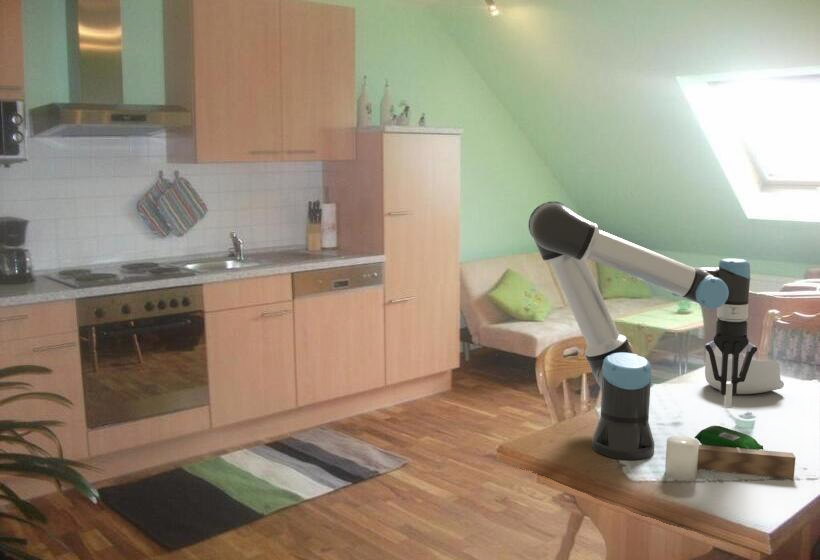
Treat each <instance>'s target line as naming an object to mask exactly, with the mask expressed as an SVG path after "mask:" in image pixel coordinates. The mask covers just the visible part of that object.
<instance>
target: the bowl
mask: <svg viewBox="0 0 820 560" xmlns="http://www.w3.org/2000/svg"><path fill="white" fill-rule="evenodd" d="M713 352H714V355H715V359H716V364H717V369H718V373H719V375H720V376H721V364H722V352H721V351H720V350H719V348H718V347H717V346H716V345H715V349H714V350H713ZM739 355H741V356H743V358H744V359H745V356H746V353H744V352H743V351H742V352H741V353H739ZM744 359H743V360H741V359H738V376H739V374H740V371H741V368H742V365H743V362H744ZM780 370H781V369H780V363H779V362H777V361H769V360H767V361H766V360H759V359H758V358H757V357H754V356H753V357H752V360H751V363H750V366H749V369H748V372H747V375H746V378H745V381H744V382H739V383H738V384H737V393H736V395H754V394H761V393H767V392H771V391H777V390H781V389H783V388H784V386H785V384H784V381H782V380H781V371H780ZM731 374H732V354H728V367H727V381H731ZM704 375H705V376H704V378H705V381H706V382H707V383H708V385H709V386H710V387H712V388H714V389H716V390H718V391H720V389H721V382H720V381H716V380H715V378H714V375H713V371H712V366H711V361H710V357H709V352H708V351H707V349H706V348H705V365H704Z"/></svg>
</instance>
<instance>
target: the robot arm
mask: <svg viewBox="0 0 820 560" xmlns="http://www.w3.org/2000/svg"><path fill="white" fill-rule="evenodd" d="M528 231H529V234H530V236H531V237H532V238H533V240H534V243H535V245H536V247H537V249H538V251H539V254H540V256H541V258H542V260H543V262H546V263H548V264H550V265H551V266H552V269H553V270H554V272H555V273H554V274H555V275H556V277H557V280H558V282H559V285H560V287H561V289H562V292H563V294H564V296H565V299H566V301H567V303H568V305H569V308H570V309H571V312H572V313H573V314H572V315H573V316H574V319H575V320H576V322H577V325H578V328H579V330H580V332H581V335H582V336H583V340H584V341H585V343H586V348H585V351H584V356H585V357H586V360H587V363H588V365H589V368H590V369H591V374H592V377H593V378H594V380H595V382H597V385H598V387H599V389H600V393H601V395H600V397H601V399H600V400H601V401H600V418H599V420H598V422H597V424H596V427H595V430H594V432H593V436H592V440H591V441H592V443H591V447H592V449H593V451H594V452H596V453H597V454H600V455H602V456H605V457H607V458H612V459H617V460H627V461H628V460H629V461H632V460H633V461H634V460H635V461H636V460H643V459H647V458H649V457H652V456H653V455H654V454H655V440H654V437H653V433H652V430H651V426H650V422H649V415H650V402H651V401H650V400H651V398H650V397H651V383H652V381H651V380H652V376H653V375H652V374H653V373H652V365H651V363H650V361H649V360H648V359H647V358H646V357H644V356H642V355H641V356H640V355H639V354H637V353H634V352H633V350H632V348H631V346H630V343H629V341H628V339H627V337H626V335H624V334H621V333H619V331H618V330H617V327H616V326H615V322H614V321H613V318H612V316H611V314H610V311H609V310H608V307H607V305H606V303H605V300H604V298H603V296H602V293H601V291H600V288H599V286H598V283H597V282H596V279H595V277H594V275H593V273H592V270H591V268H590V266H589V263H588V261H587V259H588V260H590V261H592V262H595V263H598V264H600V265H603V266H605V267H607V268H609V269H613V270H615V271H618V272H620V273H622V274H625V275H628V276H630V277H632V278H634V279H637V280H640V281H643V282H644V283H647V284H650V285H652V286H655V287H658V288H661V289H662V290H665V291H667V292H670V293H671V294H672V295H673V296H674V297H682V298H685V299H686V300H689V301H692V302H695V303H697V304H699V306H701V307H704V308H707V309H712V310H713V309H716V317H718V318H716V325H715V326H716V327H715V335H714V337H713V340H712V341H709V342H705V343H704V347H705V350H706V349H707V351H708V352H709V357H710V361H711V366H712V371H713V375H714V378H715V380H716V381H720V382H721V389H720V390H719V391H720V394H721V395H722V396H724V399H723V406H724V408H725V409H732V405H733V403H732V400H733V396H737V394H736V393H737V384H738V383H739V382H744V381H745V378H746V375H747V372H748V369H749V366H750V363H751V360H752V357H754V355H755V353H756V352H757V351H758V348H757V346H756V345H755V344H752V343H751V342H749V341H750V340H749V339H748V324H749V323H748V320H747V319H748V317H749V297H750V286H751V283H750V282H751V280H752V279H751V264H750V262H749V261H748V260H746V259H742V258H722V259H720V260H719V262H718V263H719V264H718V266H713V267H705V266H704V267H702V266H701V267H698V266H697V267H696V266H690V265H689V264H688V265H687V264H685V263H683V262H680V261H678V260H676V259H672V258H670V257H668V256H666V255H663V254H661V253H658V252H655V251H653V250H650V249H648V248H646V247H643V246H641V245H638V244H636V243H633V242H630V241H629V240H626V239H623V238H621V237H618V236H616V235H614V234H610V233H609V232H606V231H603V230H602V229H599V228H598V224H597V223H595V222H592V221H590V220H588V219H586V218H584V217H583V216H581V215H578V214H577V213H576V212H574V211H573V210H572V209H571V208H569V207H568V206H567V205H566V204H564V203H562V202H559V201H555V200H554V201H552V200H551V201H547V202H544V203H541V204H540V205H538V206H537V207H536V208H534V209H533V211H532V212H531V214H530V215H529V219H528ZM715 346H717V347H718V348H719V350H720V351H721V352H722V364H721V376H720V375H719V373H718V369H717V364H716V359H715V355H714V352H713V350H714V349H715ZM745 348H746V353H745V354H746V356H745V358H744V359H743V360H744V362H743V365H742V368H741V371H740V374H739V376H738V360H740V353H741V352H742V353H743V351H744V349H745ZM728 354H732V374H731V381H727V367H728Z"/></svg>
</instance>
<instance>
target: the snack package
mask: <svg viewBox="0 0 820 560" xmlns="http://www.w3.org/2000/svg"><path fill="white" fill-rule="evenodd" d="M694 439H695V440H697V441H698V442H699V444H700V445H708V446H719V447H731V448H736V447H738V448H742V449H754V450H764V446H763V445H761V444H760V443H758V441H757V439H756V438H754V437H753V436H751V435H749V434H746V433H743V432H740V431H737V430H734V429H730V428H727V427H725V426H720V425H710V426H707V427H706V428H703V429H701V430H700V431H699V432H698V433H697V434H696V435H695V436H694Z"/></svg>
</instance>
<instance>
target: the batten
mask: <svg viewBox="0 0 820 560" xmlns="http://www.w3.org/2000/svg"><path fill="white" fill-rule="evenodd" d="M795 467H796V456H795V454H794V453H793V452H788V451H787V452H786V451H775V450H774V451H773V450H766V449H765V450H762V449H760V450H754V449H742V448H738V447H736V448H731V447H719V446H708V445H702V444H699V449H698V465H697V470H700V469H705V470H704V471H710V470H715V471H714V472H721V471H725V472H724V473H732V472H735V473H734V474H742V475H743V474H745V475H752V476H753V475H757V476H764V477H765V476H767V477H774V478H775V477H776V478H786V479H787V478H788V479H794V478H795V471H796V470H795V469H796V468H795Z"/></svg>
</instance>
